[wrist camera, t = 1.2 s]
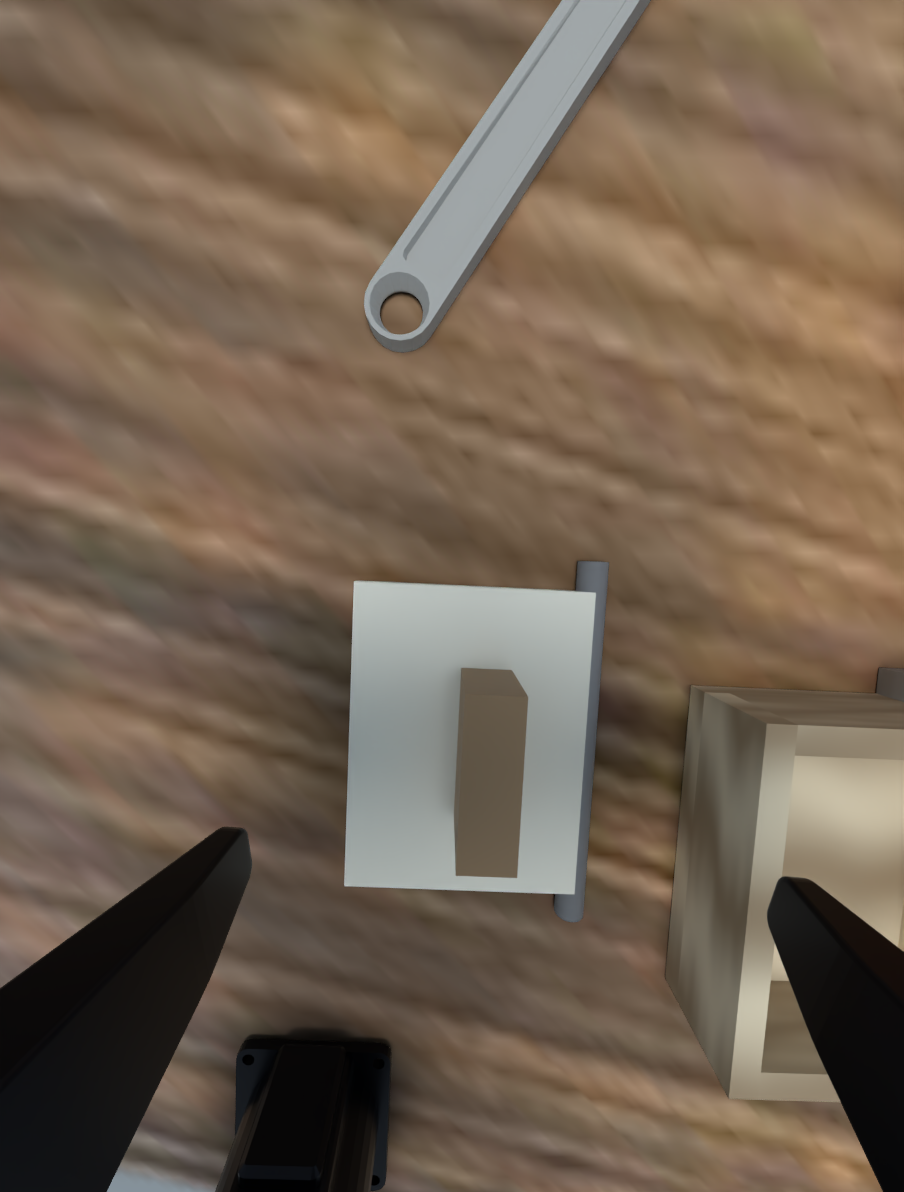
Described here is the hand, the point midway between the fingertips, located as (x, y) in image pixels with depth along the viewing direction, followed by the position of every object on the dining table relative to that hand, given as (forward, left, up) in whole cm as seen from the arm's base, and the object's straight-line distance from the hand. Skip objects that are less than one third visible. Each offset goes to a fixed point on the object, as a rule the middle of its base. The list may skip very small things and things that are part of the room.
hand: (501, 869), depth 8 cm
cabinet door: (-2, 0, -11) cm, 12 cm away
